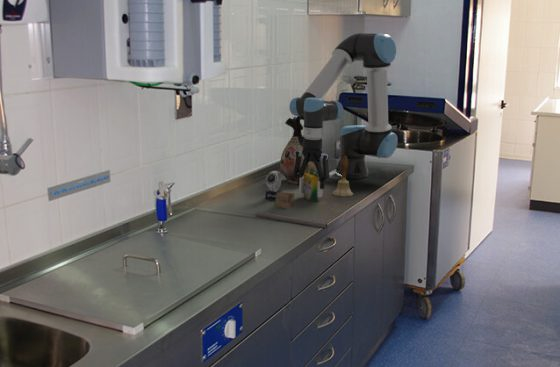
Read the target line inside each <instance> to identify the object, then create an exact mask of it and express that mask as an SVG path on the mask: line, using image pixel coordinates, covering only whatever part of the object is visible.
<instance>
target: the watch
mask: <svg viewBox="0 0 560 367" xmlns="http://www.w3.org/2000/svg"><path fill="white" fill-rule="evenodd" d="M265 182H266V186H267V190H266V191H265V197H264V198H265V200H270V201H276V194H277V193H280V192H282V191H283V190H281V189H280V188H281V185H282V184H281V183H282V175H281V171H277V170H271V171H270V172H269V173H268V174H266V176H265Z"/></svg>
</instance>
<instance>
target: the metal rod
mask: <svg viewBox="0 0 560 367" xmlns="http://www.w3.org/2000/svg"><path fill="white" fill-rule="evenodd" d="M255 216H256V217H260V218H264V219H270V220H274V221H275V220H276V221H281V222H288V223H292V224H293V223H294V224H299V225H305V226H310V227H314V228H315V227H316V228H322V229H327V228H328V225H329V224H328V223H327V222H321V221H315V220H310V219H305V218H298V217H293V216H292V217H291V216H286V215H282V214H276V213H269V212H263V211H258V210H257V211H256V212H255Z"/></svg>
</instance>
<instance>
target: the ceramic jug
mask: <svg viewBox="0 0 560 367" xmlns="http://www.w3.org/2000/svg"><path fill="white" fill-rule="evenodd" d="M301 120H302V121H304V117H299V116H294V117H293V118H291V117H289V118H288V119H287V120H286V121H285V122H284V123H285V125H286V126H288V127H290V128H292V129H293V133H292V136H291V138H290V139H289V141H288V142H287V144H286V145H285V147H284V149H283V151H282V153H281V157H280V162H279V168H280V173H282V175H283V176H284V178H285V179H286V182H287V183H289V184H293V185H295V184H297V185H298V177H297V176H296V175H294V167H295V161H296V151H299V150H300V151H302V150H303V139H304V138H305V137H303V132H302V131H303V127H304V125H302V123H301ZM303 160H304V156H303V154H302V158H301V164H300V168H301V166H302V163H303ZM310 168H311V169H313V170H315V171H316V166H315V165H314V162H311V161H309V162H308V165H307V167H306V169H305V172H304V173H310ZM303 175H304V174H303ZM302 177H304V176H302Z"/></svg>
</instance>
